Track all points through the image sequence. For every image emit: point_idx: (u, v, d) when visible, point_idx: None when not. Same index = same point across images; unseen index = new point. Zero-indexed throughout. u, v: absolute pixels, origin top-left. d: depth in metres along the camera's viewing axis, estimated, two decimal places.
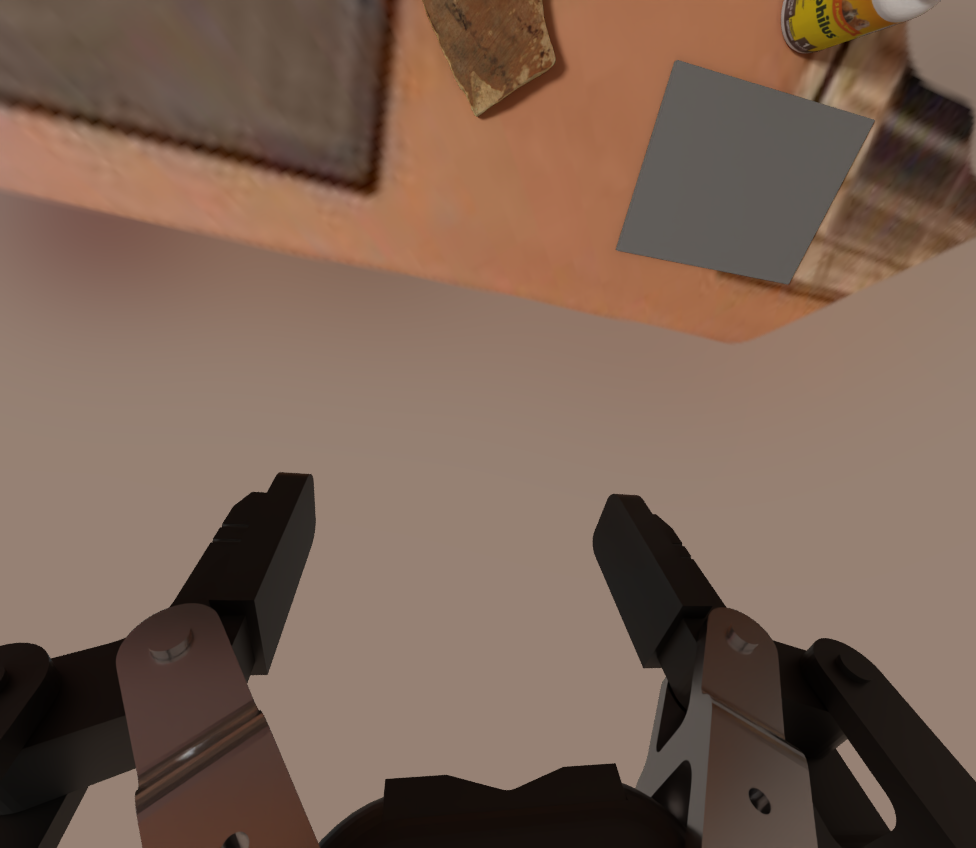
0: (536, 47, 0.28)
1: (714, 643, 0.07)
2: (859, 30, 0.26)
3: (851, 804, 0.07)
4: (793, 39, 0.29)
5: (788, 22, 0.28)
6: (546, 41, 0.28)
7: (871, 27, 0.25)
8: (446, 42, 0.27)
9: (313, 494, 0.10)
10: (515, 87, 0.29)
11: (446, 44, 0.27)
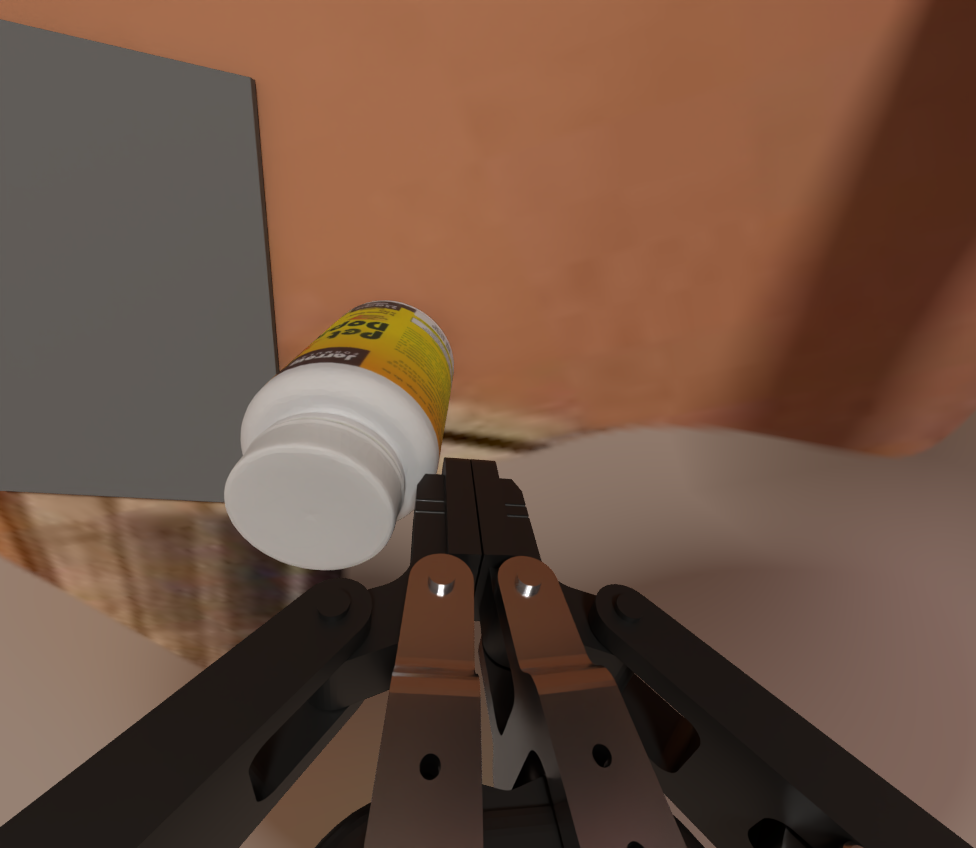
0: None
1: (512, 605, 0.07)
2: None
3: (654, 714, 0.08)
4: None
5: (348, 312, 0.16)
6: None
7: None
8: None
9: None
10: None
11: None
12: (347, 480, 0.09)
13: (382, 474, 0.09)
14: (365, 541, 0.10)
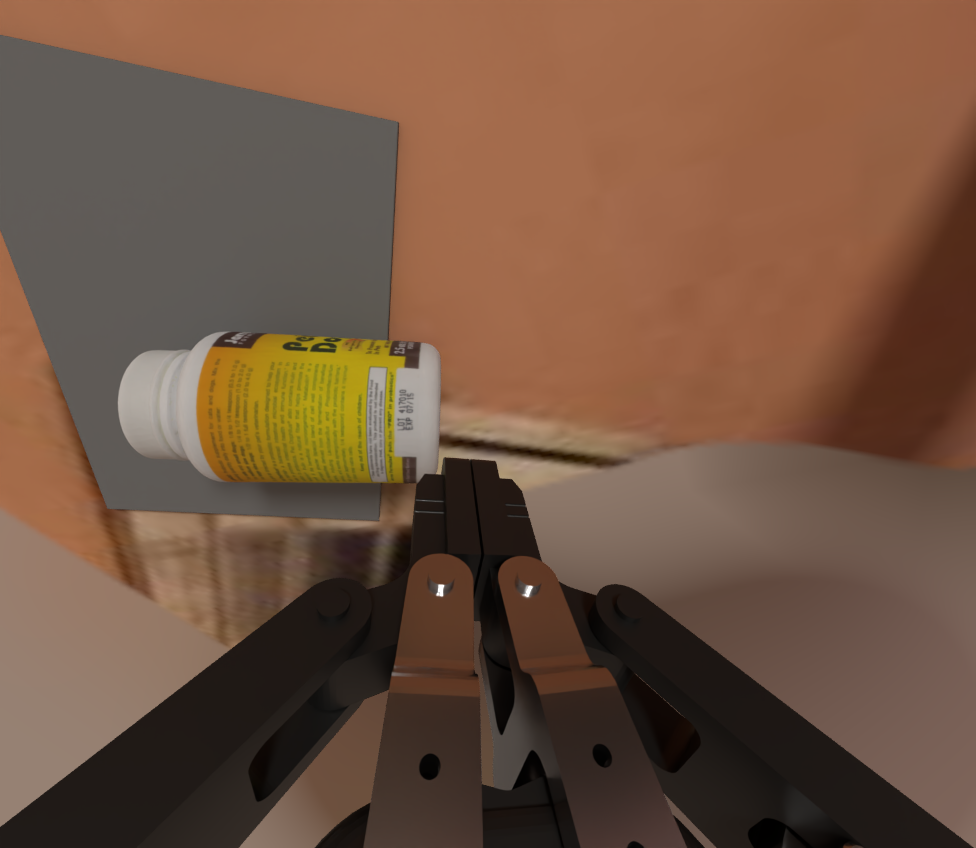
0: None
1: (512, 605, 0.07)
2: None
3: (654, 714, 0.08)
4: None
5: None
6: None
7: None
8: None
9: None
10: None
11: None
12: None
13: (127, 403, 0.13)
14: None
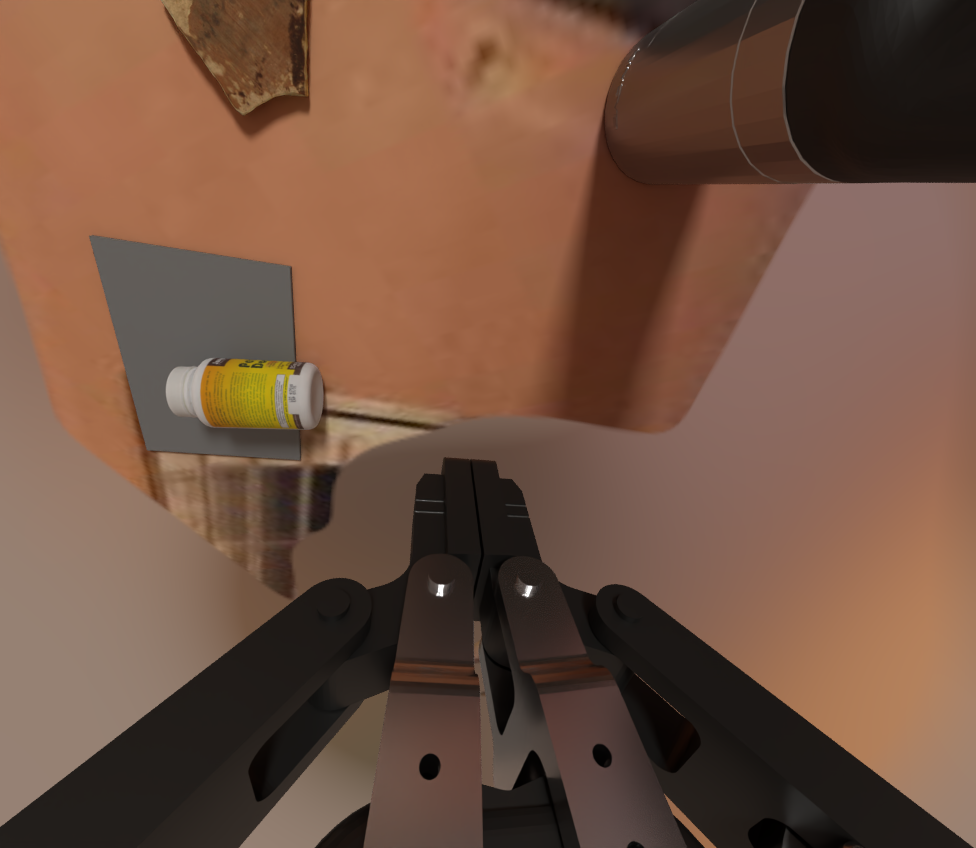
0: (245, 85, 0.25)
1: (512, 605, 0.07)
2: None
3: (654, 714, 0.08)
4: None
5: None
6: (255, 100, 0.25)
7: None
8: None
9: None
10: (200, 55, 0.24)
11: None
12: None
13: (170, 390, 0.30)
14: None
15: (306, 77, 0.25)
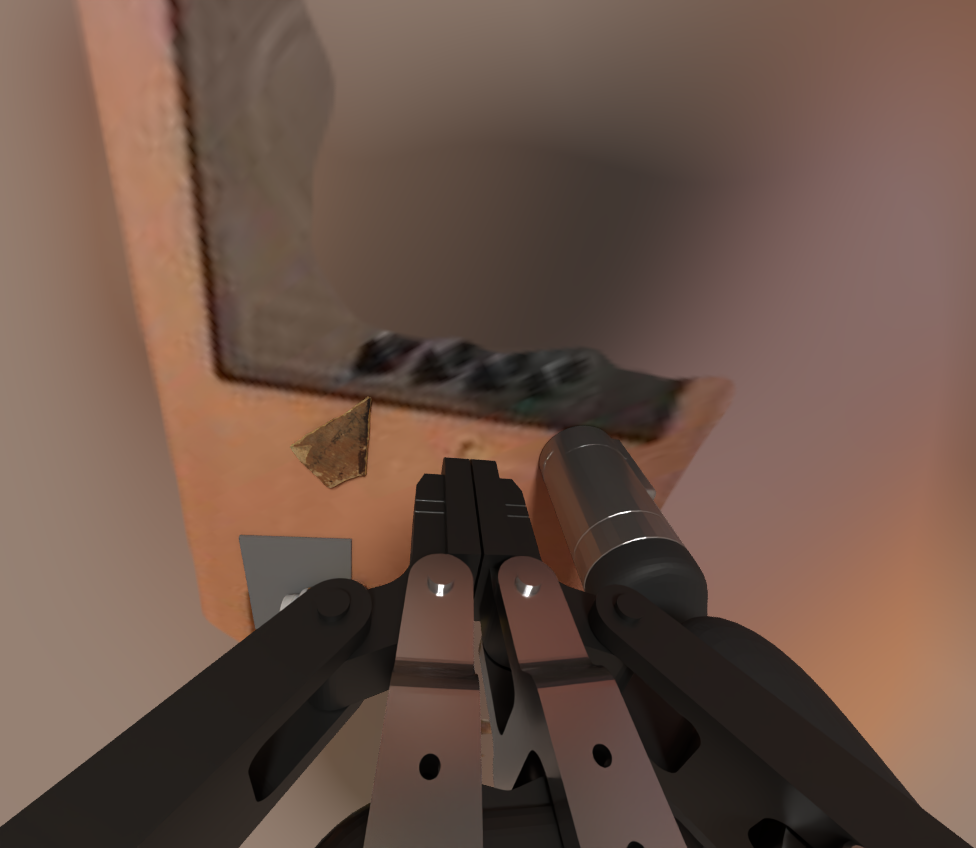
0: (333, 478, 0.45)
1: (512, 605, 0.07)
2: None
3: (654, 714, 0.08)
4: None
5: None
6: (337, 482, 0.45)
7: None
8: (322, 430, 0.42)
9: None
10: (310, 469, 0.44)
11: (321, 430, 0.42)
12: None
13: None
14: None
15: None
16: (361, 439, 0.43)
